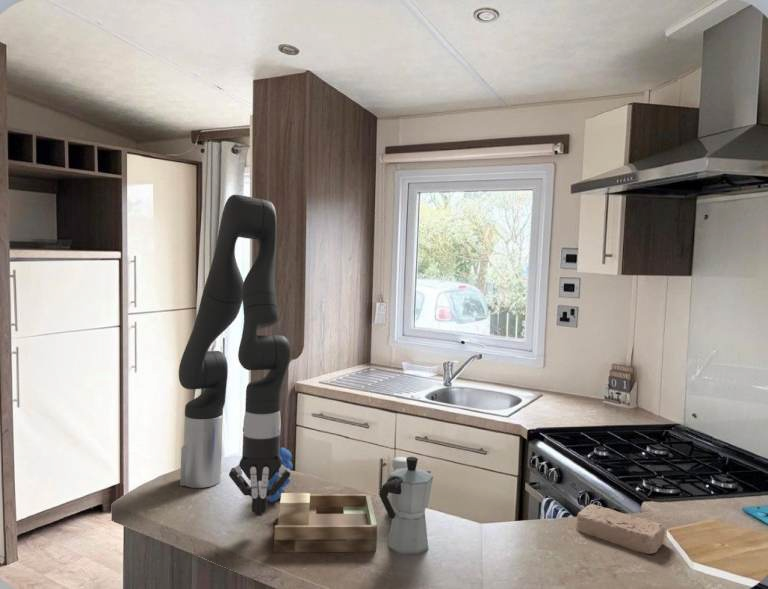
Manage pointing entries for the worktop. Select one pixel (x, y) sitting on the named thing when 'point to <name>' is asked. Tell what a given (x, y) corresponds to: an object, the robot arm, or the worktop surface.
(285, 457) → the grapes
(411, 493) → the coffee maker
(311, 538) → the box
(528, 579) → the worktop surface
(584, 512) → the brick
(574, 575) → the worktop surface
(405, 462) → the salt shaker
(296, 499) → the birch block
